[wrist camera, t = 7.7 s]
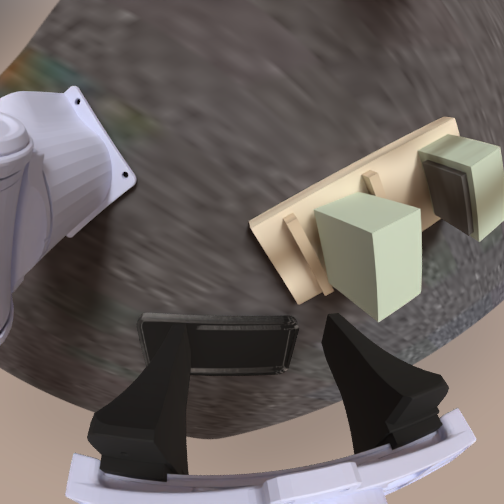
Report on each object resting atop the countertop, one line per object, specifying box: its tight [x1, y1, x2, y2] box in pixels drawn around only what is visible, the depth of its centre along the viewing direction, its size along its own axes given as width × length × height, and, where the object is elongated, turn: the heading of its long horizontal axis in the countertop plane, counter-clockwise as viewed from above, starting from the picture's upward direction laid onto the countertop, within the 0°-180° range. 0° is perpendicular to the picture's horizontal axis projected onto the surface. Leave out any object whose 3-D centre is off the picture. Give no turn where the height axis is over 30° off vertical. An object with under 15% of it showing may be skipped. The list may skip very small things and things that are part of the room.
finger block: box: [313, 192, 422, 322], centre depth 17 cm, size 5×6×6 cm
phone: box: [137, 313, 299, 376], centre depth 26 cm, size 8×1×15 cm
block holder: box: [249, 117, 504, 305], centre depth 18 cm, size 8×20×8 cm, turn 120°
